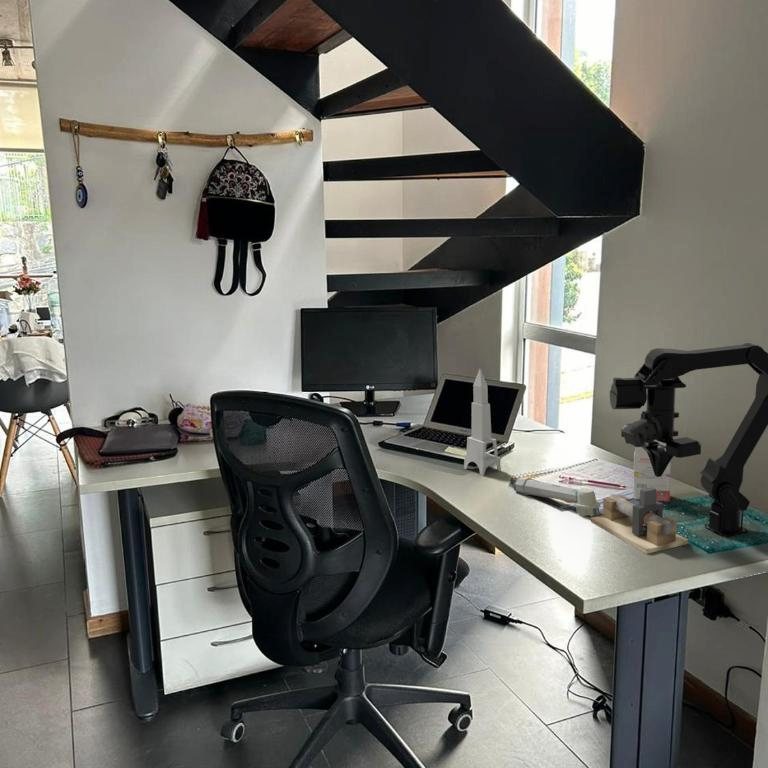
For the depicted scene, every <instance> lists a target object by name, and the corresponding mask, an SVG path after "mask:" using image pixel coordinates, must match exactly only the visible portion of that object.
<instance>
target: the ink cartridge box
mask: <svg viewBox="0 0 768 768" xmlns="http://www.w3.org/2000/svg"><path fill="white" fill-rule="evenodd" d="M651 487H653V488H655V489H657V491H656V501H659V502H666V503H669V502H670V499H671V498H670V494H671V493H670V492H671V461H670V462H669V464H668V466H667V467H666V469H665V471H664V473H663V474H662V476H661V477H657V476H655V474H654V471H653V468H652V465H651V462H650V459H649V456H648V454H647V452H646V451H645V450H644V449H643V448H642V447H635V446H634V454H633V499H634V500H640V490H641V489H646V488H651Z"/></svg>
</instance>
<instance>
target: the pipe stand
mask: <svg viewBox="0 0 768 768" xmlns="http://www.w3.org/2000/svg"><path fill="white" fill-rule="evenodd" d="M602 500H603V501H602V503H603V504H602V515H597V516H592V517H590V523H592V524H594V525H596V526H598V527H599V528H601V529H603V530H604V531H605V532H608V533H610V534H611V535H613V536H615V537H617V538H618V539H620V540H622V541H623V542H625V543H627V545H628V544H629V545H631V546H632V547H634V548H636V549H637V550H639V551H640V552H643V553H644V554H646V555H647V554H652V553H655V552H661V551H664V550H667V549H672V548H676V547H681V546H686V545H688V544H689V539H688V538H687V537H684V536H682V535H680V534H678V533H677V521H676V520H674V519H672V518H671V517H668V516H664V517H662V518H661V517H659V516H657V515H655V514H654V513H652V511H650V512H646V513H643V525H645V526H647V535H642V536H637V535H635V534H633V533H632V518H633V505H636V504H635V503H633V502H631V501H630V498H629V497H627V496H625V495H623V494H617V495H616V494H613V493H611V494H610V495H609V496H606V497H603V499H602Z"/></svg>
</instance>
